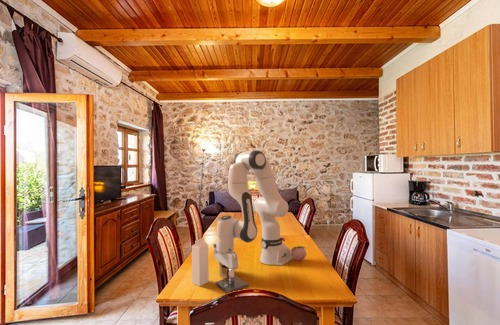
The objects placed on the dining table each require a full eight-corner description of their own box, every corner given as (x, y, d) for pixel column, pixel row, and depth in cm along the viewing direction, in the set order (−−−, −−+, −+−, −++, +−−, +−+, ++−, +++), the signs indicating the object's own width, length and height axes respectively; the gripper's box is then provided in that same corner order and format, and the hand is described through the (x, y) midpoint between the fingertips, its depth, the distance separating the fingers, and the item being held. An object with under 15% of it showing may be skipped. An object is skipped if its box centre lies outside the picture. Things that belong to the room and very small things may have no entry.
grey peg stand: (235, 277, 134) (235, 262, 134) (248, 286, 124) (248, 269, 124) (215, 283, 127) (215, 267, 127) (227, 293, 117) (227, 276, 117)
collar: (227, 272, 140) (227, 263, 140) (233, 276, 135) (233, 266, 135) (218, 275, 137) (217, 265, 137) (223, 279, 132) (223, 269, 132)
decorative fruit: (301, 258, 159) (300, 242, 160) (308, 262, 152) (308, 246, 152) (288, 260, 156) (287, 244, 156) (295, 265, 148) (294, 248, 149)
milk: (208, 282, 129) (208, 238, 129) (199, 286, 124) (199, 241, 124) (201, 278, 133) (200, 236, 133) (191, 283, 128) (191, 239, 128)
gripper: (241, 250, 129) (241, 277, 129) (221, 241, 146) (221, 265, 146) (230, 253, 126) (230, 281, 126) (211, 243, 142) (212, 267, 142)
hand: (225, 272), depth 136 cm, fingers open, 8 cm apart
